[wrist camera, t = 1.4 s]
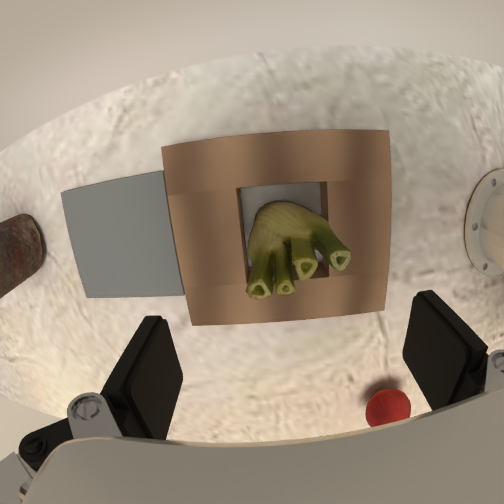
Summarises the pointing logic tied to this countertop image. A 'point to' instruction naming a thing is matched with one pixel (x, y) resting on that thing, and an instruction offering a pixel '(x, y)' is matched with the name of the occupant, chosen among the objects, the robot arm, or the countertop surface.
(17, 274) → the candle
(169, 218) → the mat
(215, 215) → the pocket holder
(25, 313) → the countertop surface
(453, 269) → the countertop surface
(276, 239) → the fennel bulb
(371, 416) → the red ovoid
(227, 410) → the countertop surface
